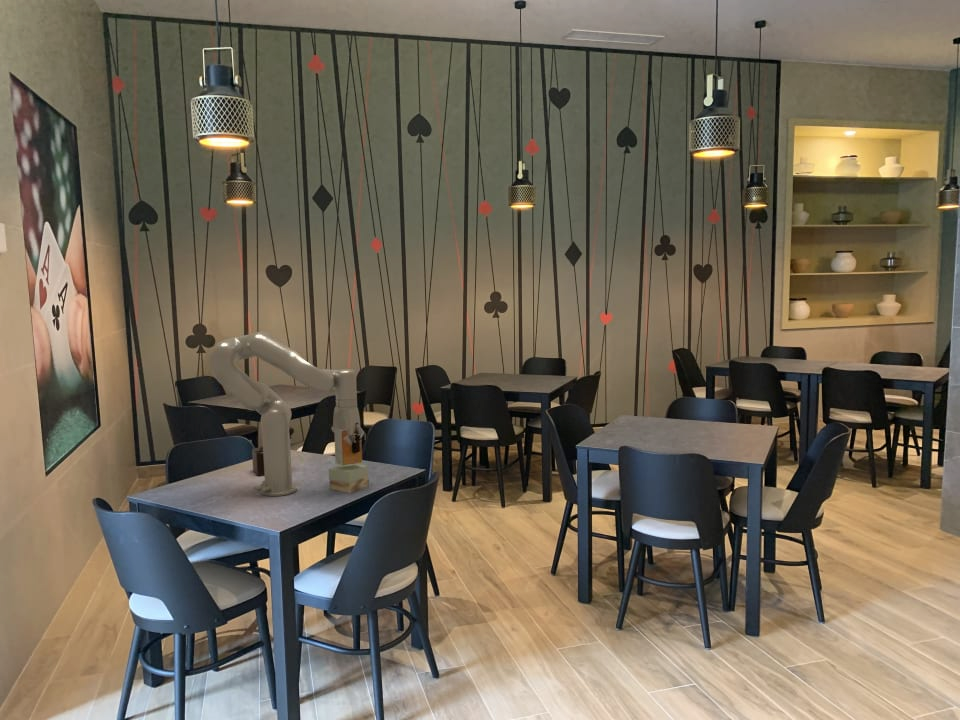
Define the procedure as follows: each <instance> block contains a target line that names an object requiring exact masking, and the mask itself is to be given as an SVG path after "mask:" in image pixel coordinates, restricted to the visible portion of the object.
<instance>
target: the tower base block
mask: <svg viewBox="0 0 960 720" xmlns="http://www.w3.org/2000/svg"><path fill="white" fill-rule="evenodd" d="M367 486H369V487H370V476H368V477H365V478H363V479H360V480H357V481H354V482H351V483H346V482H340V481H334V480H329V489H331V490H334V491H338V492H343V493H348V494H350V493H353V492H357V491H359V490H362V488H363V489H365V488H364V487H366V488H368V487H367Z"/></svg>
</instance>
